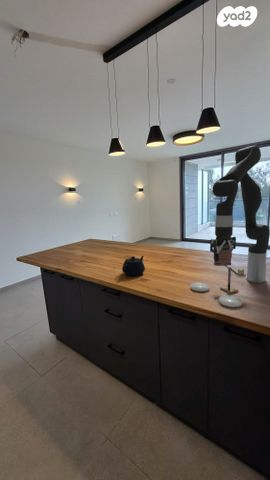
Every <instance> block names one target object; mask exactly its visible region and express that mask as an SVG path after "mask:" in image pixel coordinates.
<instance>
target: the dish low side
mask: <svg viewBox="0 0 270 480" xmlns="http://www.w3.org/2000/svg"><path fill="white" fill-rule="evenodd" d="M218 302H219V304H221V305H223V306H226V307H229V308H239V307H241V306H242V305H243V300H242V299H241V298H239V297H237V296H235V295H234V296H233V295H228V294H227V295H226V294H225V295H221V296H219V298H218Z"/></svg>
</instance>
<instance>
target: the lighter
mask: <svg viewBox="0 0 270 480" xmlns="http://www.w3.org/2000/svg"><path fill="white" fill-rule="evenodd" d="M216 246H218V245H216ZM218 247H219V246H218ZM216 251H217V250H216ZM231 251H232V249H229V245H227V246H225V247H222V249H221V250H220V251H219V261H213V265H214V266H216V267H225V266H228V267H229V266H232V257H231ZM232 252H233V251H232Z"/></svg>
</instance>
